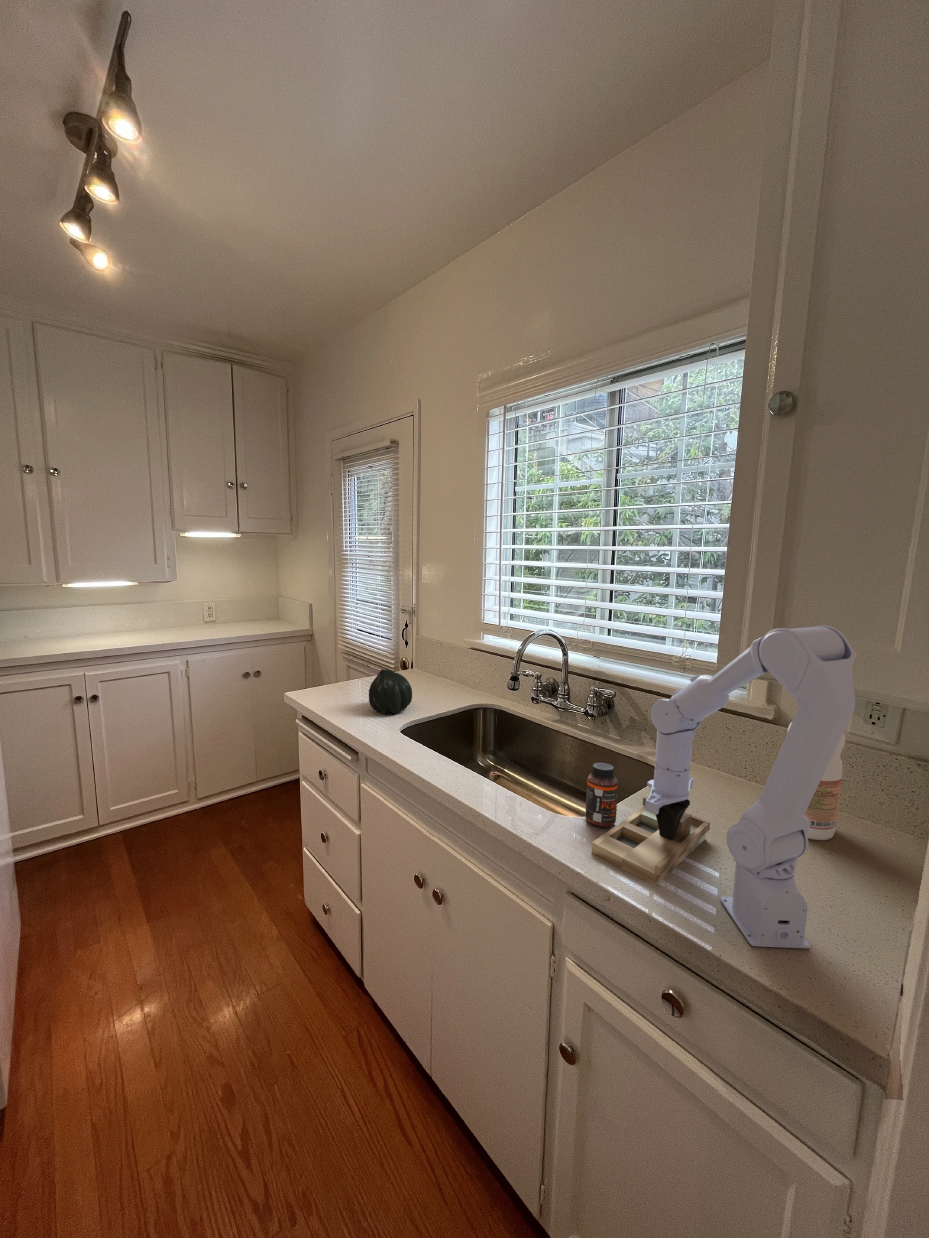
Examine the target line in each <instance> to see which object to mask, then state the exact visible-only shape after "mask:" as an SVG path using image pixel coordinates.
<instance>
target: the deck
mask: <svg viewBox="0 0 929 1238" xmlns="http://www.w3.org/2000/svg"><path fill="white" fill-rule="evenodd" d="M646 799H648V796H643V797H642V807H641V808H640V809H638V810H637V811H635V812H634V813H632V814H631V815H630V816H628V817H627V818H625V819H624V820H623V821H621V822H619V823H618V824H616V825H615V826H614V827H612V828H611V829H609V830H607V831H606V832H605V833H603V834H602V835H601V836H599V837H597V838H596V839H595V840H593V841H592V842H591V854H593V855H594V856H597V857H598V858H600V859H603V860H605V861H606V862H608V863H610V864H612V865H615V866H616V867H618V868H620V869H621V870H623V871H625V872H627V873H629V874H632V875H634V876H635V877H638V878H639V879H641V880H643V881H645V882H647V883H649V884H651V885H653V886H655V887H656V886H657V885H658V884H659V883H660V882H662V880H664V879H665V878H666V877H667V876H668V875H669V874H670V873H671V872H672V871H673V870H674V869H675V868H677V867H678V865H680V864H681V863H682V862H683V861H684V860H685V859H686V858H687V857H688V856H690V854H691V853H693V851H695V849H697V848H698V847H699V846H700V845H701V844H702V843H703V842H704V841H705V840H706V837H707V833H708V832H709V831H710V830H711V829H710V827H711V821H709V820H706V819H703V818H701V817H698V816H697V815H694V814H691V815H692V817H691V830H690V835H689V836H688V837H687V838H686V839H684V840H683V841H682V842H681V843H678V842H676V841H674V840H668V839H666V838H664V837H662V836H660V834H659V827H658V822H657V818H656V815H655V814H653V813H650V812H648V811H645V804H646Z"/></svg>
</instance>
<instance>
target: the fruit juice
mask: <svg viewBox="0 0 929 1238" xmlns="http://www.w3.org/2000/svg"><path fill="white" fill-rule="evenodd" d="M789 723H790V724H789V725H788V727H787V733H788V731H789V728H790V726H791V724H792V721H791V722H789ZM787 733H786V734H787ZM845 746H846V735H845V733H843V735H842V737H841V739H840V741H839V743H838V745H837V747H836V749H835V751H834V753H833V756H832V758H831V760H830V762H829V764H828V766H827V768H826V770H825V772H824V774H823V776H822V779H821V781H820V783H819V785H818V787H817V789H816V791H815V793H814V795H813V797H812V799H811V801H810V804H809V806H808V808H807V810H806V812H805V816H806V817H807V818H808V819H809V821H810V822H811V825H810V827H809V829H808V840H809V839H810V840H814V841H826V840H830V839H832V838H833V837H834V835H835V833H836V827H837V819H838V811H839V803H840V793H841V787H842V779H843V778H842V777H843V769H844V768H843V760H842V758H841V754H842V751H843V750H844V748H845Z"/></svg>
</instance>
